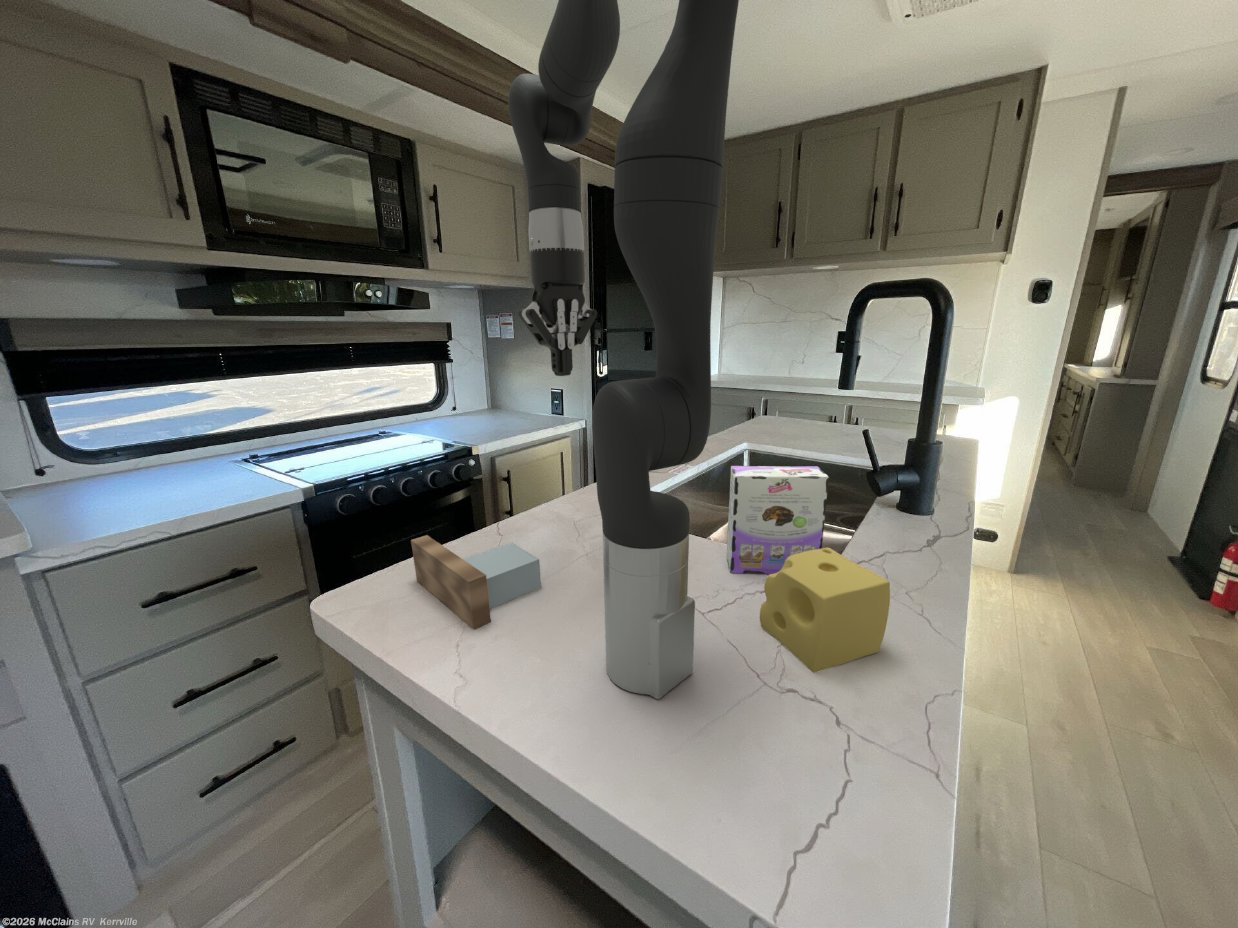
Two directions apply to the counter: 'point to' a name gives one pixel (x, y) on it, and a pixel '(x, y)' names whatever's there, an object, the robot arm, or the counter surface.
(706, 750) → the counter surface
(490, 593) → the grey block
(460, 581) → the walnut board
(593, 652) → the counter surface
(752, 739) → the counter surface
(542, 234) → the robot arm
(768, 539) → the candy box
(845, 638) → the cheese
